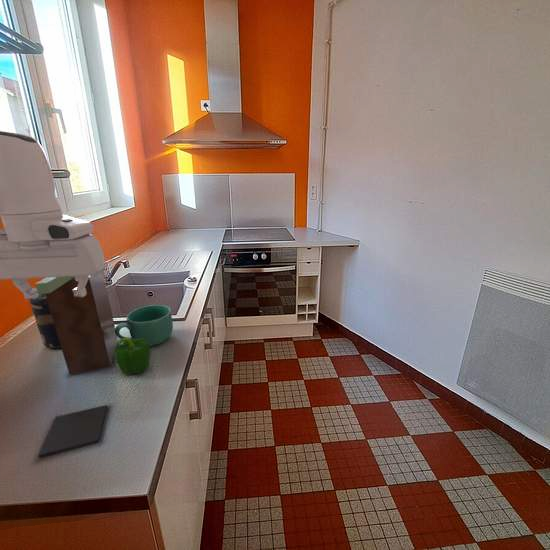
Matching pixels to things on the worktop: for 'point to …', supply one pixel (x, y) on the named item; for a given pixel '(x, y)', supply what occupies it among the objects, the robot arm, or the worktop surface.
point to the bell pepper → (132, 355)
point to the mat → (74, 431)
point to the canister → (45, 321)
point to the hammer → (51, 284)
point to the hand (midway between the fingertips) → (56, 297)
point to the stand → (84, 324)
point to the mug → (148, 324)
